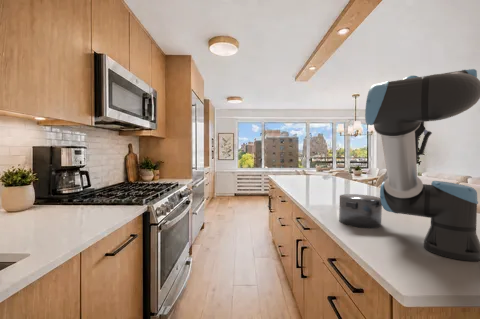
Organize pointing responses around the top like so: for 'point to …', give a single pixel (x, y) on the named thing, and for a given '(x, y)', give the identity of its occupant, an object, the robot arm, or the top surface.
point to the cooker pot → (360, 210)
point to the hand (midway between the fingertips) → (411, 171)
